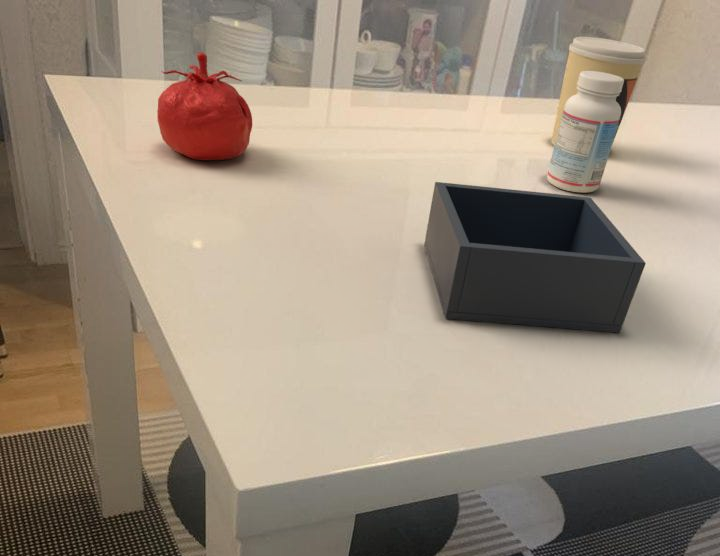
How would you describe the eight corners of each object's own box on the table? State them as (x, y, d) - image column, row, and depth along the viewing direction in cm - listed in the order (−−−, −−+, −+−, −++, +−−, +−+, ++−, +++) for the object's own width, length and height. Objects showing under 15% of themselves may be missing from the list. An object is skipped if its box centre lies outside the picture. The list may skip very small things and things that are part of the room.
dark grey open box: (571, 259, 67) (590, 197, 63) (620, 333, 56) (646, 263, 53) (423, 246, 65) (435, 181, 61) (445, 318, 55) (460, 245, 51)
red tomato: (179, 171, 73) (174, 66, 67) (143, 141, 79) (136, 42, 73) (269, 165, 77) (272, 66, 72) (228, 136, 84) (228, 43, 78)
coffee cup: (603, 163, 93) (636, 55, 85) (534, 144, 96) (561, 39, 89) (623, 149, 100) (656, 48, 92) (558, 132, 103) (585, 33, 95)
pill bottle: (583, 177, 87) (614, 71, 80) (607, 195, 83) (642, 84, 76) (536, 175, 86) (564, 66, 79) (558, 193, 81) (589, 80, 74)
